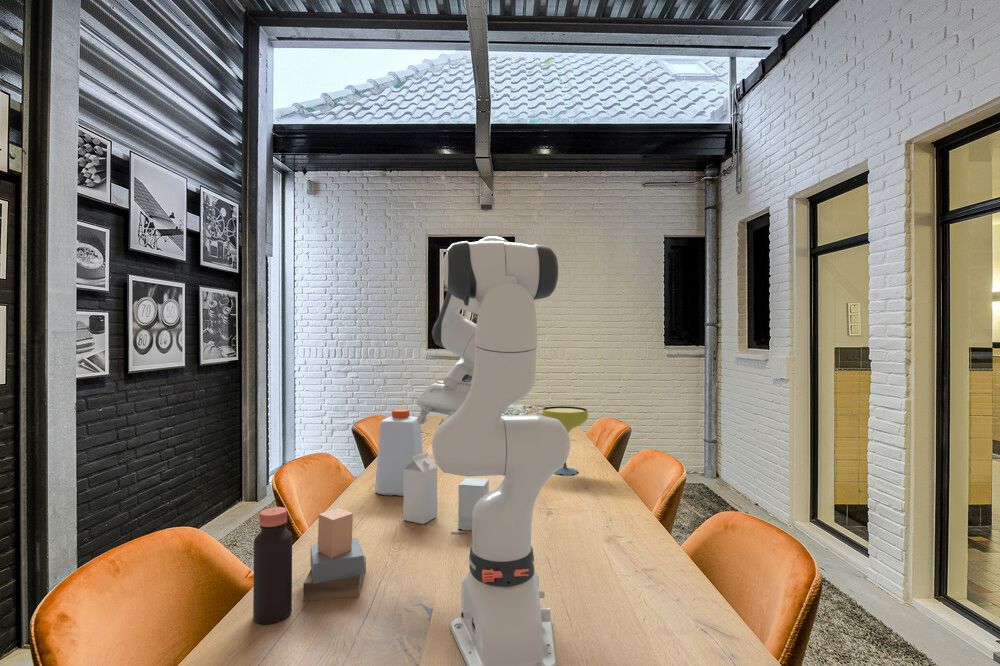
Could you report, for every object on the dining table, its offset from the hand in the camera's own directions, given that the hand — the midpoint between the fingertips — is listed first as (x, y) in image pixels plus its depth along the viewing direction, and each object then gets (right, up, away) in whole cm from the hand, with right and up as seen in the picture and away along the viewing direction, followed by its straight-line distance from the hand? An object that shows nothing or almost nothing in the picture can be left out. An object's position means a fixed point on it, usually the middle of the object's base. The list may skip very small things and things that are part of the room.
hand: (430, 424), depth 125 cm
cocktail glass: (+44, -32, +72) cm, 90 cm away
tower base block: (-18, -32, -19) cm, 41 cm away
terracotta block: (-18, -24, -19) cm, 35 cm away
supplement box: (+10, -32, +15) cm, 37 cm away
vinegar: (-26, -31, -30) cm, 51 cm away
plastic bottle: (-17, -32, +48) cm, 60 cm away
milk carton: (-6, -32, +20) cm, 38 cm away
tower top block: (-18, -28, -19) cm, 38 cm away
